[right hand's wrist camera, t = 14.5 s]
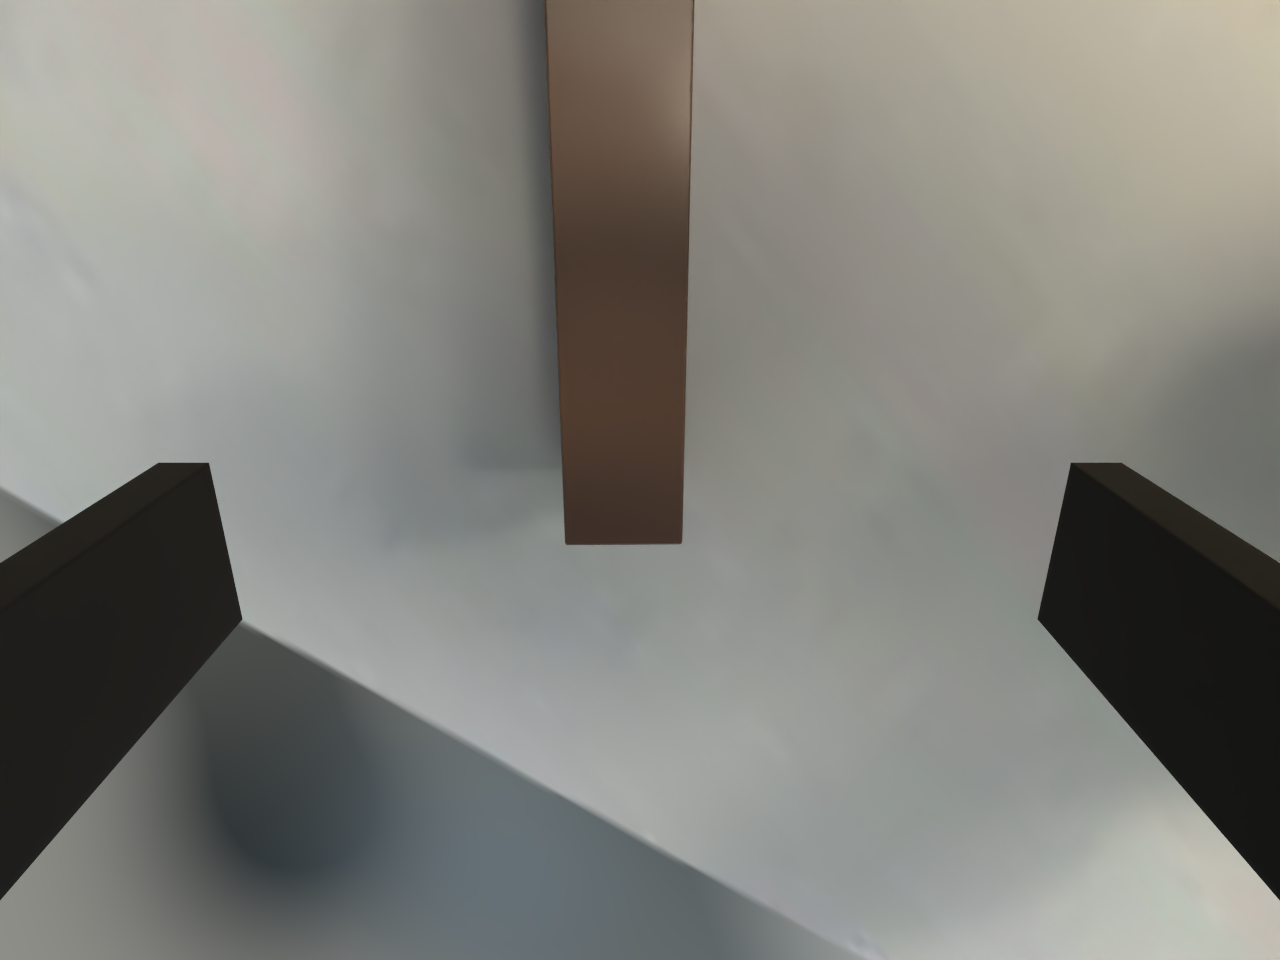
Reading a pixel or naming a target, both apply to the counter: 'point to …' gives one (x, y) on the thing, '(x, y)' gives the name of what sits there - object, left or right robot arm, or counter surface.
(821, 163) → the counter surface
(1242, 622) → the right robot arm
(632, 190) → the walnut rail
